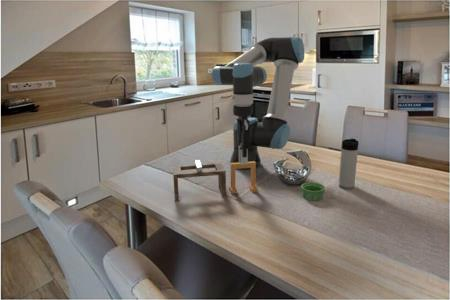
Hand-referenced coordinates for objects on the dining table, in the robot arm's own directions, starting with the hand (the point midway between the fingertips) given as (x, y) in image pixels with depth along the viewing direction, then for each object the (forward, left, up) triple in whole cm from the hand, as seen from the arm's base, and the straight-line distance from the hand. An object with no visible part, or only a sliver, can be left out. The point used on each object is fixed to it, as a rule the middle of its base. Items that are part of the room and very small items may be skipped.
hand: (243, 162), depth 141 cm
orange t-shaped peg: (0, 0, -12) cm, 12 cm away
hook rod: (+18, 0, -1) cm, 18 cm away
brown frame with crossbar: (+18, 0, -12) cm, 22 cm away
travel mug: (-43, +5, -12) cm, 45 cm away
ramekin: (-25, +12, -12) cm, 30 cm away
